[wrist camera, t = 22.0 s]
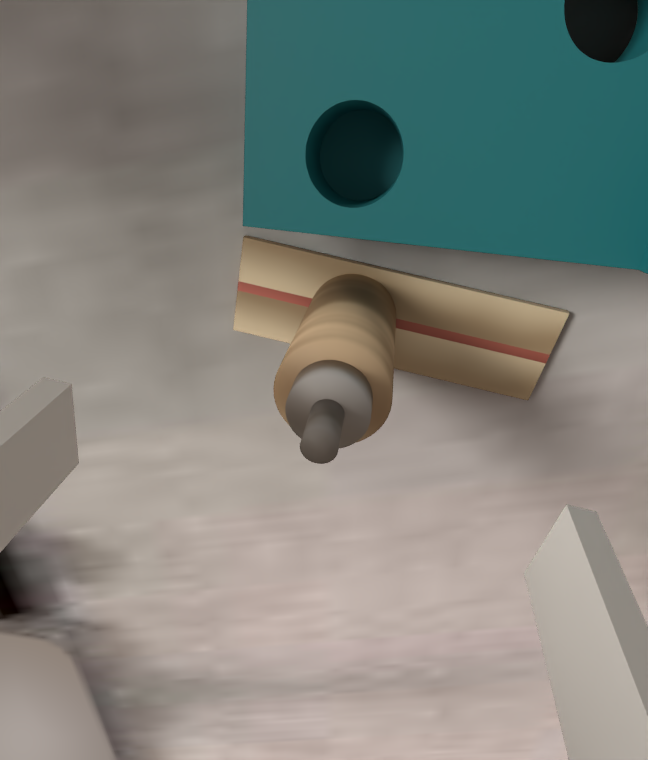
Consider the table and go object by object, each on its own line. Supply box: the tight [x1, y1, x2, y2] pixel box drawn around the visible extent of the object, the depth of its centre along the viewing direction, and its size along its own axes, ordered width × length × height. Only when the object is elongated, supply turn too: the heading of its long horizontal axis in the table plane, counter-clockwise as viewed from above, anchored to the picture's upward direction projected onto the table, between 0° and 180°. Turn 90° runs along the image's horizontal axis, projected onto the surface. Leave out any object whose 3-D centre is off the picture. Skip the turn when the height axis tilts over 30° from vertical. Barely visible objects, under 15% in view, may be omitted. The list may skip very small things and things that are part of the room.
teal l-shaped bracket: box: [243, 0, 648, 274], centre depth 16 cm, size 18×11×10 cm, turn 86°
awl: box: [274, 274, 396, 464], centre depth 20 cm, size 4×4×11 cm
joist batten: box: [233, 235, 569, 400], centre depth 25 cm, size 5×16×1 cm, turn 79°
